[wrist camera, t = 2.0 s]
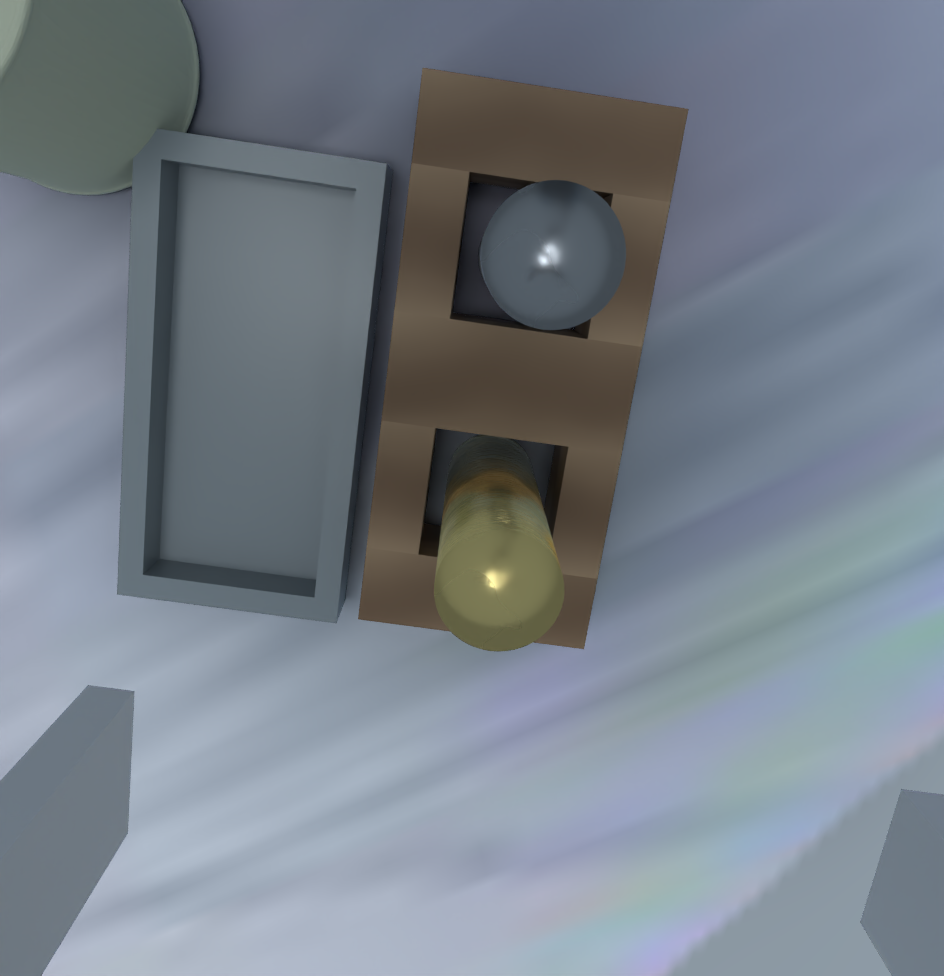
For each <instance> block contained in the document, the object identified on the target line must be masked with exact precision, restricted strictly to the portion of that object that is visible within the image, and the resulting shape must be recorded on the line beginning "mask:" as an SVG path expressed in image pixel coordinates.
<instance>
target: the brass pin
mask: <svg viewBox="0 0 944 976" xmlns="http://www.w3.org/2000/svg"><path fill="white" fill-rule="evenodd" d="M434 599H435V604H436V608H437V610H438V613H439V615H440V617H441V619H442V621H443V622H444V624H445V625H446V627H447V628H448V629H449V630H450V631H451V632H452V633H453V634H454V635H455V636H456V637H458V638H459V639H460V640H462V641H463V642H465V643H467V644H469V645H471V646H473V647H476V648H479V649H483V650H488V651H509V650H515V649H518V648H521V647H524V646H526V645H529V644H531V643H532V642H534V641H536V640H537V639H539V638H540V637H541V636H543V635H544V634H545V633H546V632H547V631H548V630H549V629H550V628H551V626H552V625H553V624H554V622H555V621H556V619H557V617H558V615H559V613H560V611H561V608H562V604H563V600H564V580H563V575H562V571H561V568H560V564H559V561H558V557H557V554H556V550H555V547H554V543H553V540H552V536H551V533H550V529H549V526H548V522H547V518H546V515H545V511H544V508H543V504H542V501H541V497H540V494H539V490H538V487H537V483H536V480H535V476H534V472H533V469H532V465H531V462H530V459H529V457H528V455H527V454H526V452H525V451H524V449H523V448H522V447H521V446H520V445H519V444H518V443H516V442H515V441H513V440H512V439H510V438H503V437H496V436H489V435H478V436H475V437H473V438H471V439H469V440H467V441H466V442H464V443H463V444H462V445H461V446H460V447H459V448H458V449H457V450H456V451H455V453H454V454H453V456H452V458H451V461H450V463H449V467H448V474H447V482H446V491H445V499H444V507H443V516H442V524H441V533H440V541H439V549H438V558H437V566H436V574H435V583H434Z"/></svg>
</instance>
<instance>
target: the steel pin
mask: <svg viewBox="0 0 944 976" xmlns="http://www.w3.org/2000/svg"><path fill="white" fill-rule="evenodd" d="M625 262H626V244H625V237H624V234H623V230H622V227H621V225H620V222H619V220H618V218H617V216H616V215H615V213H614V211H613V210H612V208H611V207H610V206H609V205H608V203H607V202H606V201H605V200H604V199H603V198H602V197H601V196H599V195H598V194H596V193H595V192H594V191H592V190H590V189H589V188H587V187H585V186H583V185H580V184H577V183H574V182H570V181H564V180H546V181H541V182H536V183H534V184H531V185H528V186H526V187H524V188H522V189H520V190H518V191H517V192H515V193H514V194H512V195H511V196H510V197H509V198H507V199H506V200H505V201H504V202H503V203H502V204H501V205H500V207H499V208H498V209H497V210H496V212H495V213H494V215H493V216H492V218H491V220H490V222H489V224H488V226H487V228H486V231H485V233H484V235H483V238H482V240H481V243H480V247H479V252H478V264H479V269H480V272H481V275H482V278H483V280H484V282H485V284H486V286H487V288H488V290H489V292H490V294H491V295H492V297H493V298H494V300H495V301H496V303H497V304H498V305H499V306H500V307H501V309H502V310H504V311H505V312H506V313H507V314H508V315H509V316H511V317H512V318H513V319H515V320H517V321H518V322H520V323H522V324H524V325H527V326H530V327H533V328H537V329H542V330H561V329H567V328H571V327H574V326H577V325H579V324H582V323H584V322H586V321H588V320H589V319H591V318H592V317H594V316H595V315H596V314H598V313H599V312H600V311H601V310H602V309H603V308H604V307H605V306H606V305H607V304H608V303H609V301H610V300H611V299H612V297H613V296H614V294H615V292H616V291H617V289H618V287H619V285H620V282H621V279H622V277H623V273H624V269H625Z"/></svg>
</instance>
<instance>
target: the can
mask: <svg viewBox="0 0 944 976" xmlns="http://www.w3.org/2000/svg"><path fill="white" fill-rule="evenodd" d="M198 89H199V58H198V51H197V44H196V40H195V36H194V32H193V29H192V25H191V23H190V20H189V18H188V15H187V13H186V10H185V8H184V6H183V4H182V2H181V0H0V172H3V173H7V174H11V175H15V176H19V177H22V178H26V179H29V180H31V181H33V182H35V183H37V184H40V185H42V186H44V187H47V188H50V189H53V190H56V191H60V192H64V193H70V194H76V195H101V194H107V193H112V192H116V191H120V190H123V189H126V188H128V187H131V186H132V173H133V157H135V156H136V155H137V154H138V153H139V152H140V151H141V150H142V148H143V147H144V146H145V145H146V144H147V143H148V141H149V140H150V138H151V137H152V136H153V134H154V133H155V131H156V130H157V129H164V130H170V131H177V132H184V133H186V132H187V130H188V128H189V125H190V123H191V120H192V117H193V114H194V110H195V107H196V102H197V97H198Z"/></svg>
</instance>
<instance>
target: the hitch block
mask: <svg viewBox="0 0 944 976" xmlns="http://www.w3.org/2000/svg"><path fill="white" fill-rule="evenodd" d="M687 114H688V109H685V108H678V107H672V106H666V105H659V104H653V103H646V102H640V101H633V100H627V99H621V98H614V97H608V96H601V95H595V94H589V93H582V92H576V91H569V90H563V89H557V88H550V87H544V86H537V85H531V84H524V83H518V82H512V81H505V80H499V79H492V78H486V77H480V76H473V75H467V74H460V73H454V72H447V71H441V70H435V69H428V68H423V69H422V77H421V86H420V94H419V103H418V112H417V120H416V129H415V137H414V146H413V154H412V163H411V171H410V180H409V189H408V197H407V206H406V214H405V223H404V231H403V240H402V249H401V257H400V266H399V274H398V283H397V291H396V300H395V308H394V317H393V326H392V334H391V343H390V351H389V360H388V368H387V377H386V385H385V394H384V403H383V411H382V420H381V428H380V437H379V445H378V454H377V463H376V471H375V480H374V488H373V497H372V505H371V514H370V522H369V531H368V540H367V548H366V557H365V565H364V574H363V582H362V591H361V599H360V608H359V617H358V619H361V620H368V621H376V622H383V623H391V624H398V625H406V626H414V627H421V628H429V629H436V630H444V631H450V630H449V629H448V628H447V627H446V625H445V624H444V622H443V621H442V619H441V617H440V615H439V613H438V610H437V608H436V604H435V599H434V583H435V574H436V566H437V558H438V549H439V541H440V533H441V526H440V525H433V524H425V523H424V520H425V513H426V505H427V498H428V491H429V483H430V476H431V468H432V461H433V453H434V446H435V439H436V431H437V428H439V429H446V430H453V431H460V432H467V433H474V434H481V435H489V436H496V437H503V438H510V439H517V440H524V441H531V442H538V443H545V444H552V445H555V448H554V454H553V460H552V465H551V471H550V477H549V483H548V489H547V494H546V500H545V506H544V511H545V515H546V518H547V522H548V526H549V529H550V533H551V536H552V540H553V543H554V547H555V550H556V554H557V557H558V561H559V564H560V568H561V571H562V575H563V580H564V600H563V604H562V608H561V611H560V613H559V615H558V617H557V619H556V621H555V622H554V624H553V625H552V626H551V628H550V629H549V630H548V631H547V632H546V633H545V634H544V635H543V636H541V637H540V638H539V639H537V640H536V641H534V643H542V644H550V645H557V646H565V647H572V648H580V649H584V646H585V641H586V635H587V630H588V625H589V620H590V615H591V610H592V604H593V599H594V594H595V589H596V584H597V579H598V573H599V568H600V563H601V558H602V553H603V548H604V542H605V537H606V532H607V527H608V522H609V517H610V512H611V506H612V501H613V496H614V491H615V486H616V481H617V475H618V470H619V465H620V460H621V455H622V450H623V444H624V439H625V434H626V429H627V424H628V419H629V413H630V408H631V403H632V398H633V393H634V388H635V382H636V377H637V372H638V367H639V362H640V357H641V351H642V346H643V341H644V336H645V331H646V326H647V321H648V315H649V310H650V305H651V300H652V295H653V290H654V284H655V279H656V274H657V269H658V264H659V259H660V253H661V248H662V243H663V238H664V233H665V228H666V222H667V217H668V212H669V207H670V202H671V197H672V191H673V186H674V181H675V176H676V171H677V166H678V160H679V155H680V150H681V145H682V140H683V135H684V130H685V124H686V119H687ZM546 180H564V181H570V182H574V183H577V184H580V185H583V186H585V187H587V188H589V189H590V190H592V191H594V192H595V193H596V194H598V195H599V196H601V197H602V198H603V199H604V200H605V201H606V202H607V203H608V205H609V206H610V207H611V208H612V210H613V211H614V213H615V215H616V216H617V218H618V220H619V222H620V225H621V227H622V230H623V234H624V237H625V244H626V262H625V269H624V273H623V277H622V279H621V282H620V285H619V287H618V289H617V291H616V292H615V294H614V296H613V297H612V299H611V300H610V301H609V303H608V304H607V305H606V306H605V307H604V308H603V309H602V310H601V311H600V312H599V313H598V314H596V315H595V316H594V317H592V318H591V319H589V320H588V321H586V322H584V323H582V324H579V325H577V326H575V330H571V329H561V330H542V329H537V328H533V327H530V326H527V325H524V324H522V323H520V322H516V321H509V320H502V319H496V318H489V317H482V316H475V315H468V314H461V313H454V312H453V305H454V297H455V290H456V282H457V275H458V267H459V260H460V253H461V245H462V238H463V230H464V223H465V215H466V208H467V200H468V193H469V186H470V182H473V183H480V184H486V185H493V186H499V187H506V188H513V189H519V190H520V189H522V188H524V187H526V186H528V185H531V184H534V183H536V182H541V181H546Z"/></svg>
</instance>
